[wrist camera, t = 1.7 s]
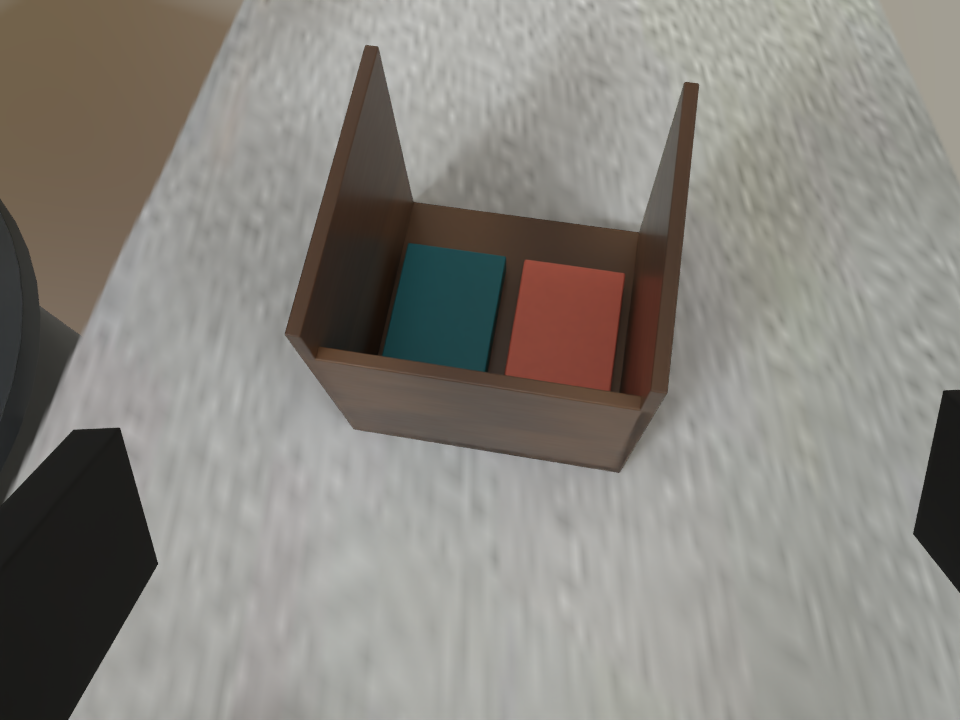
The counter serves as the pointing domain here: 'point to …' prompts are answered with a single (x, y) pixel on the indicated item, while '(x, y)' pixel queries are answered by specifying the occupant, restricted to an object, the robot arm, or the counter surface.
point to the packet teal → (446, 307)
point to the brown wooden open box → (492, 395)
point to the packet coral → (566, 325)
